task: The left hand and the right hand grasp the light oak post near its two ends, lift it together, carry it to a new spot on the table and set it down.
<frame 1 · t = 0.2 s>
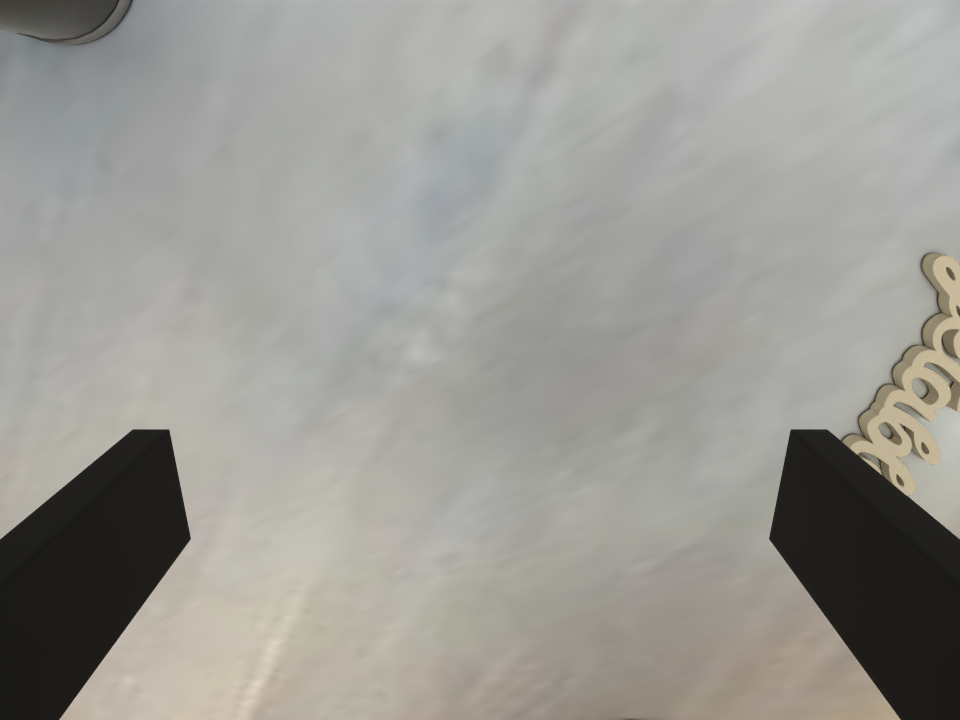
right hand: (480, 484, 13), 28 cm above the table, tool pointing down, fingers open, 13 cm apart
decorative sign: (933, 355, 41), on the table
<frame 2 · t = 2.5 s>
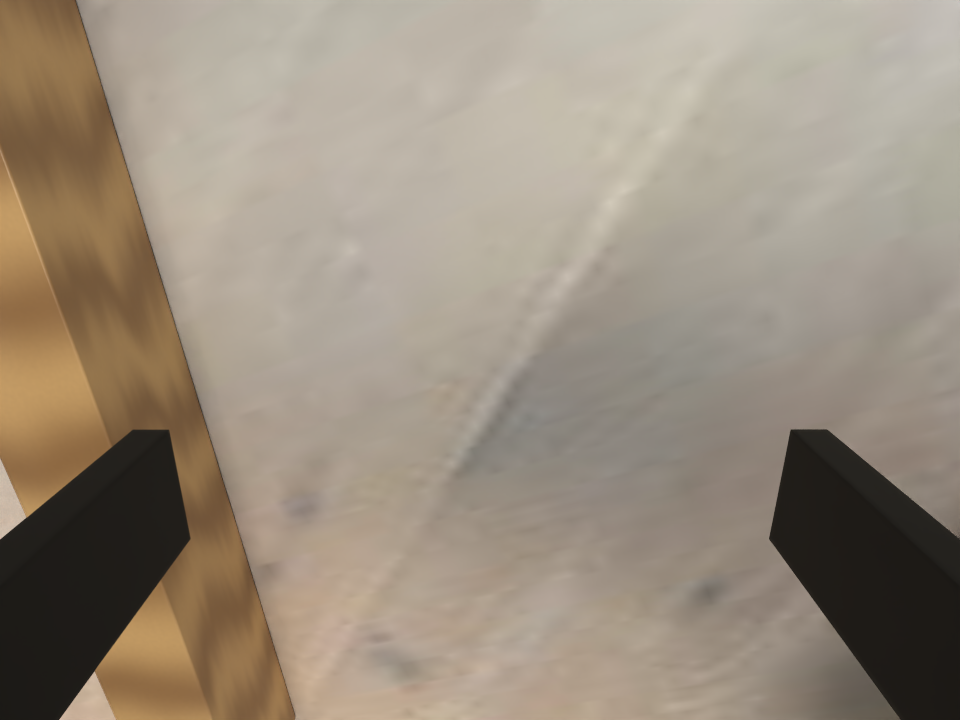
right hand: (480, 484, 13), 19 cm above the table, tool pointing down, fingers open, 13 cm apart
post: (112, 277, 31), on the table, touching left hand
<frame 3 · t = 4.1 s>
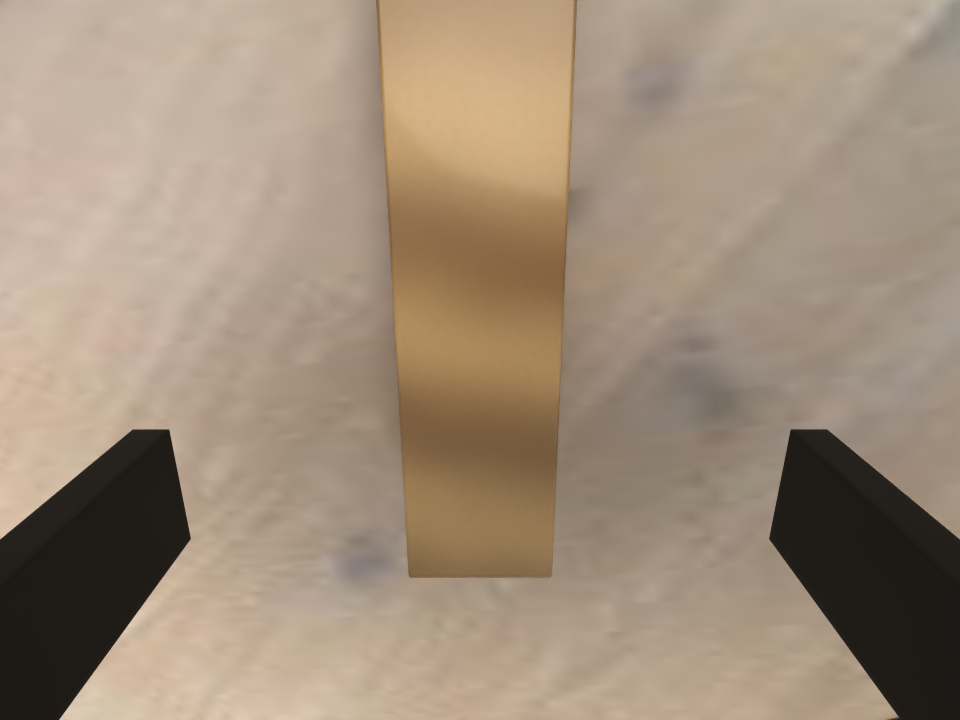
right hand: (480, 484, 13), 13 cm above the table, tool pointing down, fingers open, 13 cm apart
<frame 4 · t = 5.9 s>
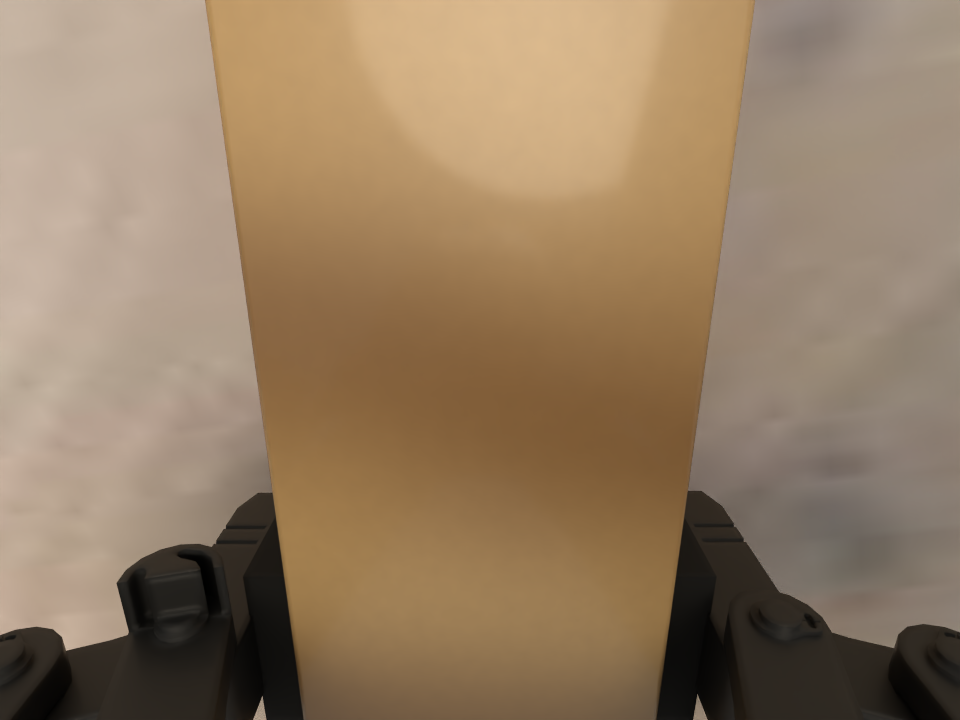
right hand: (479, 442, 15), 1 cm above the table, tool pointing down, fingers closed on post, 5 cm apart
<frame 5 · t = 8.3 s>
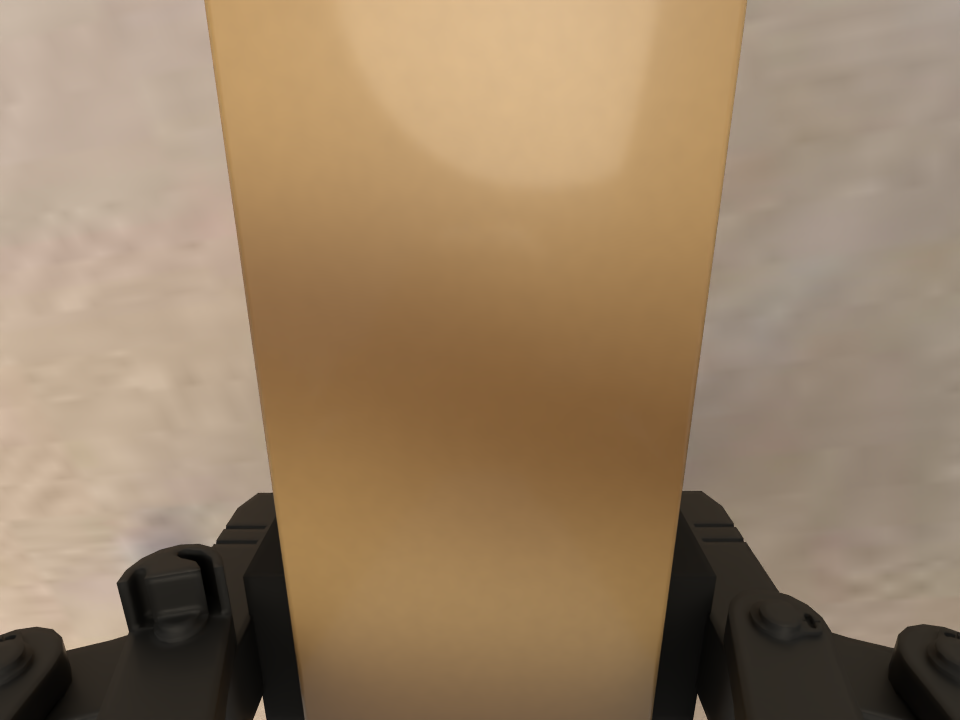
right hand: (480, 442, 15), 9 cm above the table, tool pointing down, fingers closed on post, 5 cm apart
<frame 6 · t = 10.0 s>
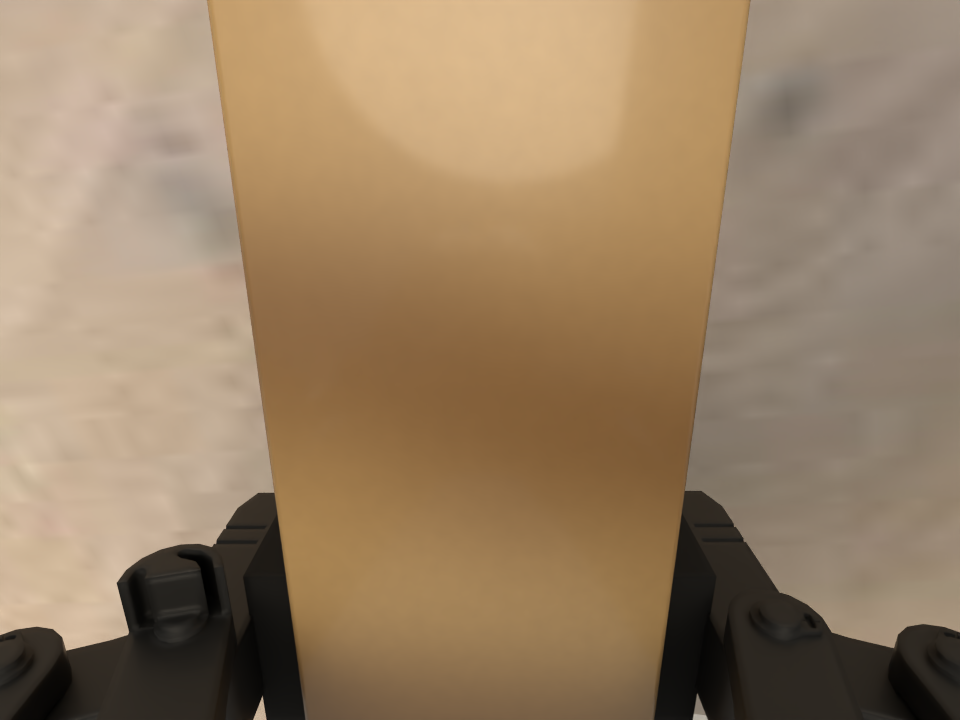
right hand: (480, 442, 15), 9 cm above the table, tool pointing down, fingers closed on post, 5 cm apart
when the right hand's fingers open (2 cm above the table, at t = 11.1 s): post moves 1 cm, on the table.
when the left hand's fingers open (4 cm above the table, at t = 11.2 s): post stays where it is, on the table.
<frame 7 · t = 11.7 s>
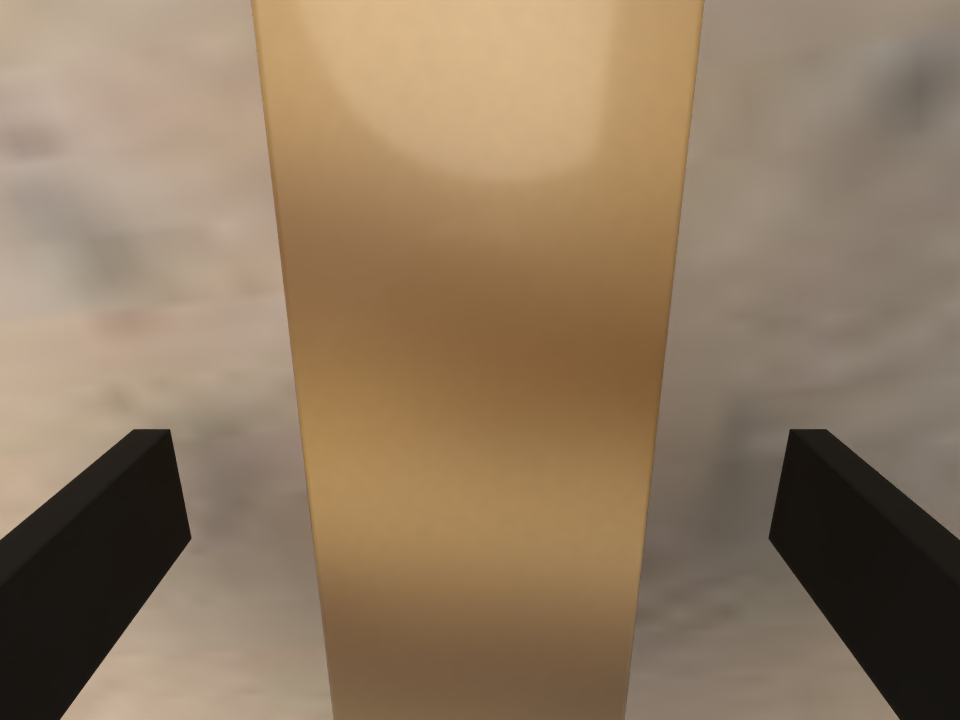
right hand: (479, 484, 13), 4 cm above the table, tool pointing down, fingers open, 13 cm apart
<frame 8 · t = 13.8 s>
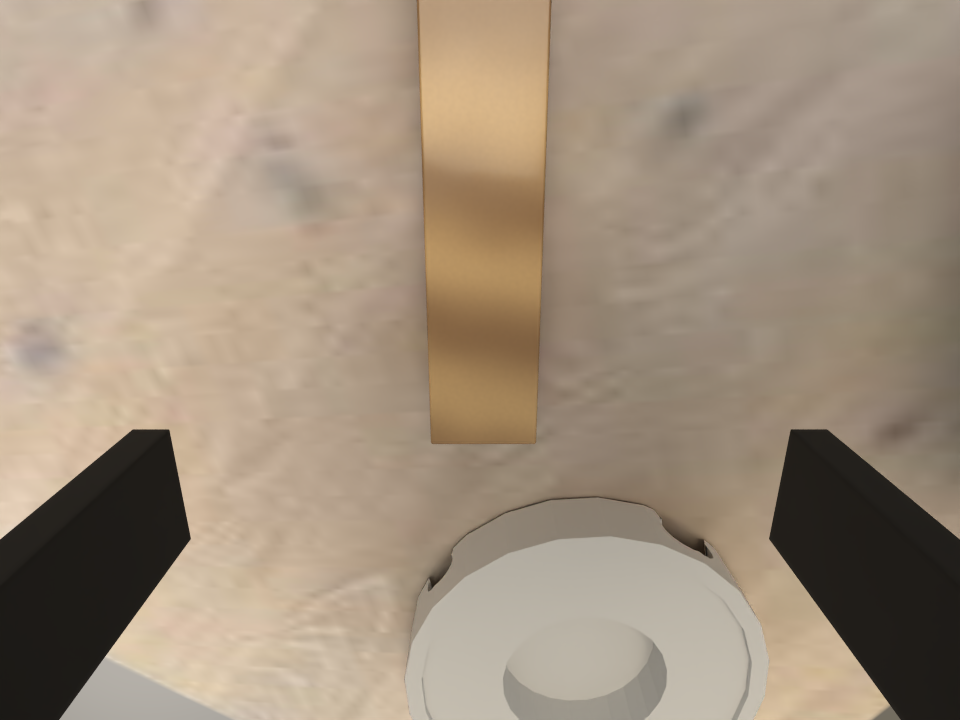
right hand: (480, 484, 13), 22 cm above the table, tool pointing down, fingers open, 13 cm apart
ashtray: (575, 636, 42), on the table
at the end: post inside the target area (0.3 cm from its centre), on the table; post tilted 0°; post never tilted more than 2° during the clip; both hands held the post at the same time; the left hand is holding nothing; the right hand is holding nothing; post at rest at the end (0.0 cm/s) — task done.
